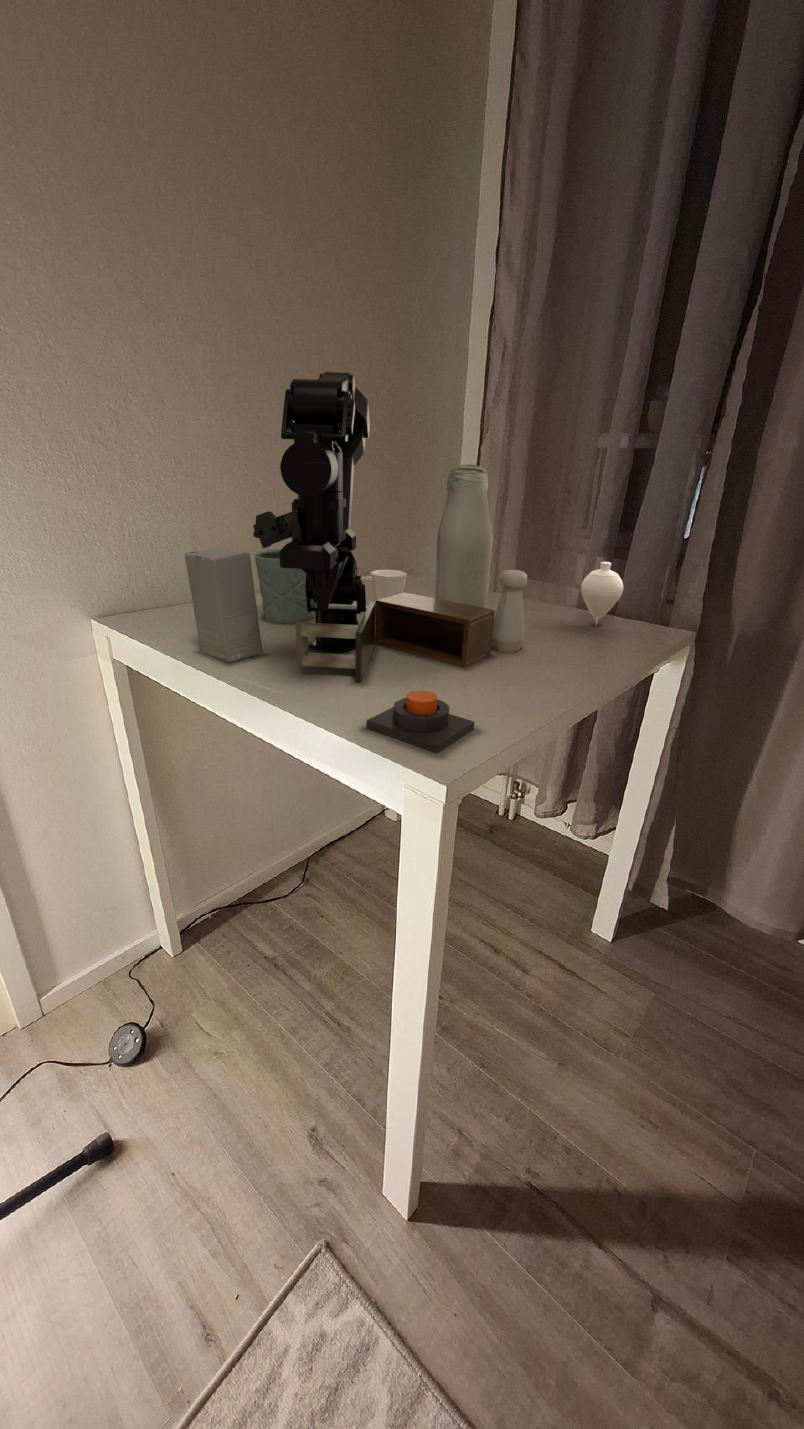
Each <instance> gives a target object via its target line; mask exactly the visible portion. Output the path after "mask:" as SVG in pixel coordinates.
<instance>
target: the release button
mask: <svg viewBox="0 0 804 1429" xmlns="http://www.w3.org/2000/svg"><path fill="white" fill-rule="evenodd" d="M405 698H406V710H407V711H408V712H411V713H414V714H431V713H435V712H436V711H437V699H438V695H437V693H435V692H433V691H428V690H412V691H409V692H407V694H406V697H405Z"/></svg>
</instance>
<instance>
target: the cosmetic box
mask: <svg viewBox="0 0 804 1429" xmlns="http://www.w3.org/2000/svg"><path fill="white" fill-rule="evenodd" d="M184 559H185V565H186V571H187V576H188V583H189V589H190V595H191V601H192V607H193V614H194V619H195V626H196V631H197V637H198V643H199V649H200V650H199V651H200V652H201V653H204V654H206V655H209V656H211V657H213V658H216V659H219V660H222V661H224V662H227V663H232V662H237V661H240V660H243V659H246V658H251V657H256V656H261V655H263V645H262V638H261V630H260V622H259V616H258V607H257V606H258V605H257V599H256V598H257V597H256V592H255V591H256V590H255V584H254V582H255V581H254V576H253V569H252V568H253V567H252V559H251V553H250V552H249V551H241V550H235V549H230V548H224V547H215V548H210V549H202V550H196V551H195V550H194V551H189V552H185V553H184Z"/></svg>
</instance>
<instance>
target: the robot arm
mask: <svg viewBox="0 0 804 1429" xmlns="http://www.w3.org/2000/svg"><path fill="white" fill-rule="evenodd" d="M289 384H290V385H289V388H287V389H285V393H284V401H283V409H282V410H283V411H282V419H281V429H280V439H281V440H293V443H292V444H291V445H289V447H287V449H285V451H284V453H283V454H282V457H281V461H280V462H279V463H280V468H279V469H280V474H281V478H282V481H283V482H284V484H285V485H286V487H287V488H288V489H289V490H290V491H292V492H293V493H295V494H296V495H297V498H295V499H293V500H292V501H291V511H289V512H286V513H284V514H281V515H278V516H276V515H275V514H274V513H273V512H272V511H271V510H268V511H266V512H262V513H260V514H256V516H255V524H252V527H253V532H252V533H253V534H252V536H253V537H254V538H255V539H259V542H260V545H261V547H262V549H266V548H269V547H272V545H275V544H277V543H279V542H280V543H281V542H282V541H285V540H287V539H290V538H291V541H289V542H288V543H287V542H286V544H285V545H284V546H282V548H280V549H281V550H280V551H279V556H280V567H282V568H294V569H302V570H303V571H304V572H305V573H306V581H305V589H306V599H307V608H308V612H310V613H312V612H313V613H314V614H315V617H314V618H315V621H314V622H315V623H327V624H347V625H359V621H358V615H361V613H366V611H367V609H366V606H367V594H366V593H367V592H366V584H365V583H364V581H363V580H362V579H361V578H362V575H361V574H359V569H358V564H357V560H356V558H355V557H354V554H353V553H352V551H354V550H355V549H357V534H356V533H355V532H354V531H353V530H352V511H353V493H354V474H355V466H356V465H357V464H358V463H359V462H358V461H360V459H361V458H362V457H363V456H364V454H365V449H366V439H370V432H371V431H370V430H371V421H370V420H371V418H370V407H369V400H368V398H367V397H366V396H365V395H364V394H363V393H362V392H361V391H360V390H359V389H358V388H357V387H356V379H355V375H354V374H351V373H350V372H335V371H324V372H323V373H319V376H318V379H307V378H306V379H305V378H292V380H291V381H290V383H289ZM308 647H311V648H313V649H317V650H321V651H325V652H327V653H332V654H344V653H346V652H349V651H352V650H354V649H356V639H348V638H329V637H315V640H314V641H312V642H308Z"/></svg>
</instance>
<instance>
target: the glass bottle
mask: <svg viewBox="0 0 804 1429" xmlns="http://www.w3.org/2000/svg"><path fill="white" fill-rule="evenodd" d="M446 489H447V490H446V492H447V493H446V500H445V505H444V507H443V510H442V515H441V518H440V522H439V526H438V529H437V535H436V565H435V566H436V569H435V570H436V571H435V573H436V574H435V587H434V588H435V598H436V599H441V600H446V601H451V602H456V603H461V604H466V605H471V606H477V607H482V608H486V604H487V601H488V595H489V594H488V593H489V585H490V584H489V583H490V574H491V564H492V554H493V542H494V540H493V539H494V533H493V525H492V520H491V516H490V510H489V500H488V489H489V475H488V472H487V470H486V469H485V468H484V467H482V466H479V465H475V464H458V465H456V466H454V467H453V468H452V469H451V470H450V472H449V473H448V476H447V481H446Z"/></svg>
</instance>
